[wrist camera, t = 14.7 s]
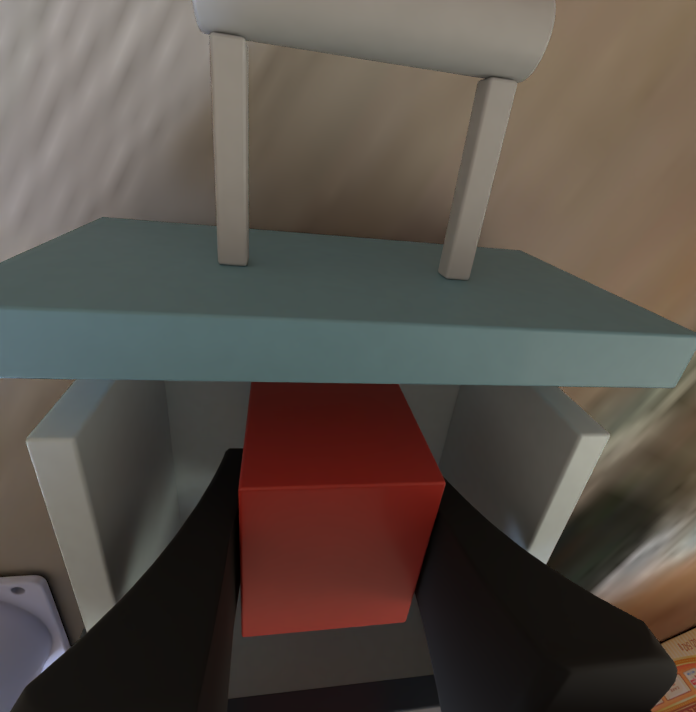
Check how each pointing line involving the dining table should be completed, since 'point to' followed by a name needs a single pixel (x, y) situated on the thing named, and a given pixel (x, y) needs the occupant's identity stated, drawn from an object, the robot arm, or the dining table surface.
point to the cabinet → (348, 698)
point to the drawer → (318, 336)
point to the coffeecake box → (681, 675)
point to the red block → (332, 507)
